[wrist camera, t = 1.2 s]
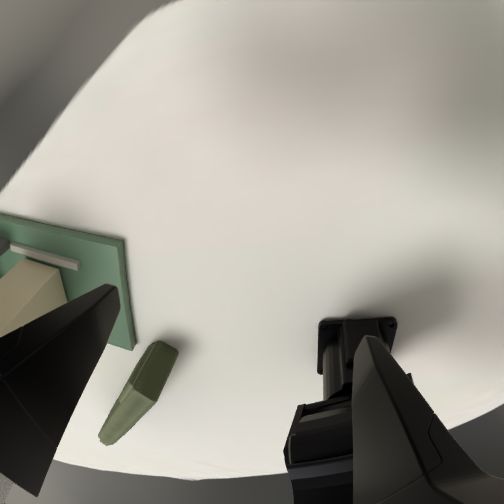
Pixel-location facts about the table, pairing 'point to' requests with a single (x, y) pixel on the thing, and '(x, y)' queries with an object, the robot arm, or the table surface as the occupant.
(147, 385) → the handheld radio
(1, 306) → the plug
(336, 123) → the table surface
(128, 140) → the table surface
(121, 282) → the board
